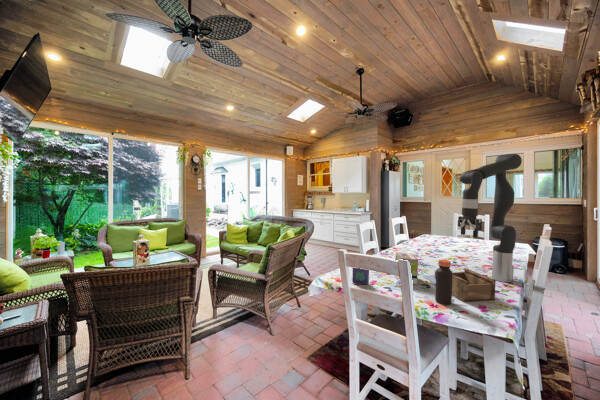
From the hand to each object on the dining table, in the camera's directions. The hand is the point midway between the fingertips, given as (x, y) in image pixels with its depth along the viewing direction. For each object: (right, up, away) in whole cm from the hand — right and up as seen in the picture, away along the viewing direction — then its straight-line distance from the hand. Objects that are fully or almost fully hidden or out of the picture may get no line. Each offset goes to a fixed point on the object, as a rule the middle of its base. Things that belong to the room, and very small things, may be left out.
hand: (468, 236), depth 139 cm
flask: (-60, -28, +3) cm, 66 cm away
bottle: (-26, -29, -20) cm, 44 cm away
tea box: (-31, -28, +10) cm, 43 cm away
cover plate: (-11, -28, +10) cm, 32 cm away
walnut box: (-9, -29, -10) cm, 31 cm away
